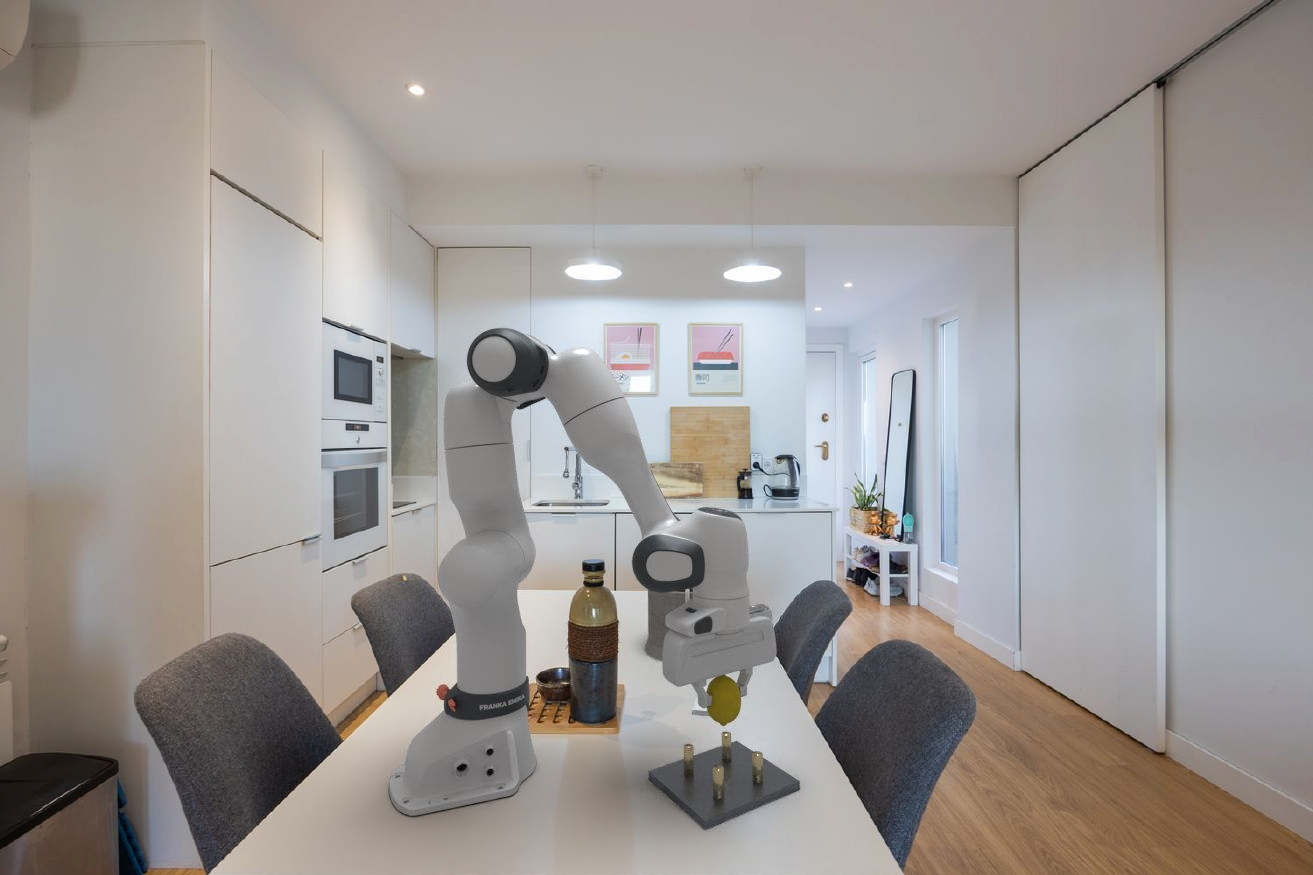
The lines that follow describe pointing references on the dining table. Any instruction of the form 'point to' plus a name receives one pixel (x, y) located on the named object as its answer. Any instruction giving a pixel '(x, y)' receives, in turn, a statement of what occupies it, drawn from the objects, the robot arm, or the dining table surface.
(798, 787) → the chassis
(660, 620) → the pitcher
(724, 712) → the lemon
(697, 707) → the external hard drive
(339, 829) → the dining table surface
